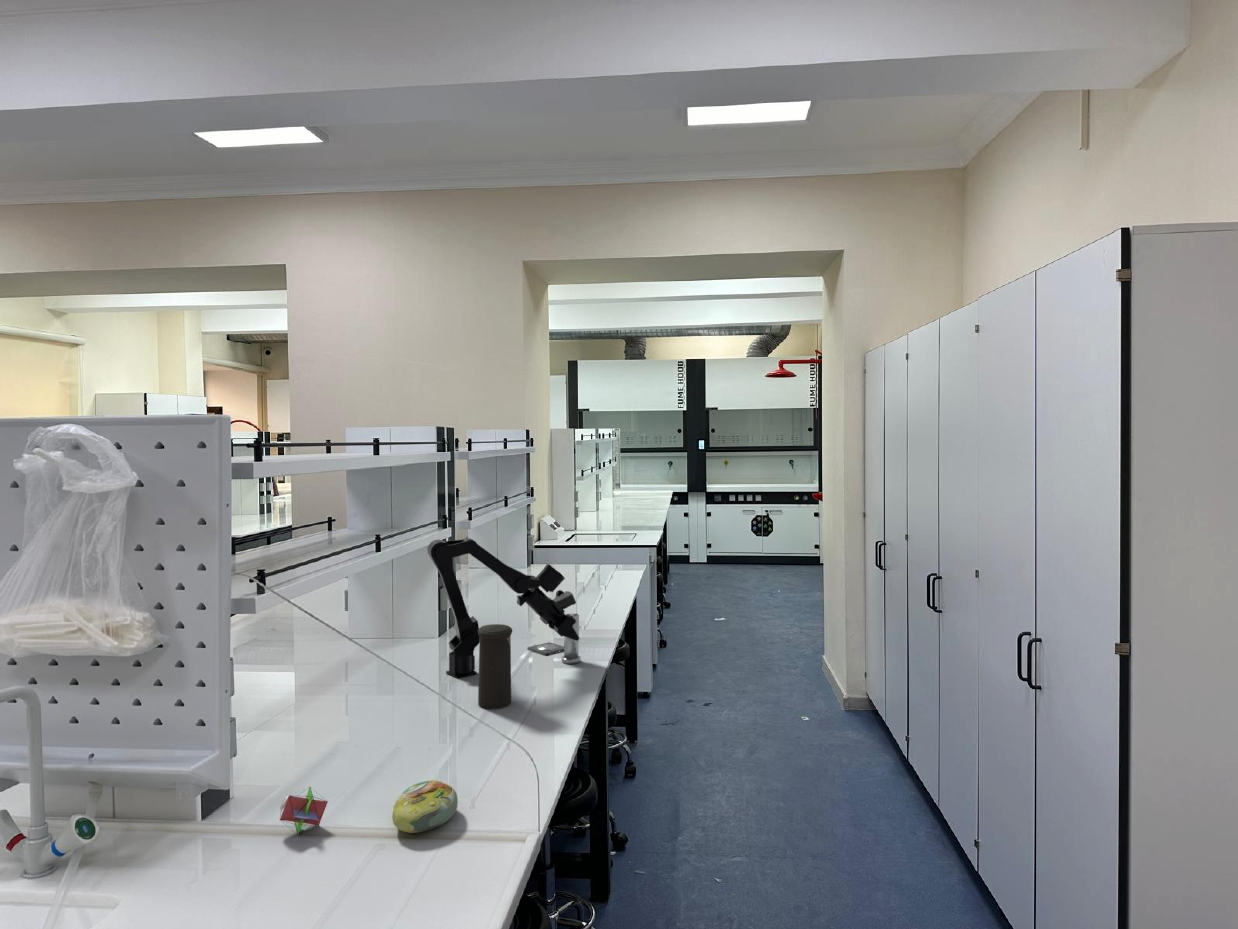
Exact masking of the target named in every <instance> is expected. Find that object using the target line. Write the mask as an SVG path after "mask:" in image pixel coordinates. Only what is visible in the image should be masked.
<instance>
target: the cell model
mask: <svg viewBox="0 0 1238 929" xmlns="http://www.w3.org/2000/svg"><path fill="white" fill-rule="evenodd" d="M458 802H459V801H458V795H457V791H456V790H455V789H454V788H453V787H452V786H450V785H449V784H447V783H444V782H442V781H440V780H433V779H432V780H425V781H422V782H418V783H415V784H413V785H411V786H408V788H406V789H405V790H404V791H403V792H402V793H401V794H400V795H399V796H398V798H397V799H396V801H395V803H394V805H393V810H392V816H391V818H392V822H393V823H392V824H393V825H394V826H395V828H397V830H399V831H401V832H404V833H411V834H414V833H421V832H422V833H423V832H425V831H429V830H433V829H435V828H437V827H440V826H441V825H443V824H445V823H447V822H448V821H449V820H450V819H451V818H452V817H453V815H455V813H456V811H457V808H458Z"/></svg>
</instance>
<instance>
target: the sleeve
mask: <svg viewBox="0 0 1238 929" xmlns="http://www.w3.org/2000/svg"><path fill="white" fill-rule="evenodd" d="M568 614H569V615H570V616H572V617H573V618H574V619H575V620H576V623H575V624H574V625H573V628H574V630H575V631H576V633H577V635H578V636H580V628H579V627H580V615H579V614H578V613H568ZM563 644H564V645H563V647H564V651H563V655H562V656H561V662H562V663H563V664H567V665H575V664H580V662H581V656H580V655H579V648H580V647H579V646H580V645H579V644H580V639H579V640H578V641H576V640H573V639H570V638H568V637H565V636H563Z"/></svg>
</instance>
